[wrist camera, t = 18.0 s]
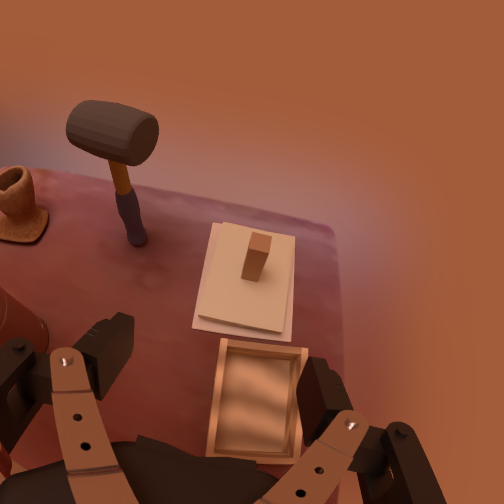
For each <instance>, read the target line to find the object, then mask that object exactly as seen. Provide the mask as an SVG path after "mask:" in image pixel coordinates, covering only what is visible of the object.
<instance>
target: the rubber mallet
mask: <svg viewBox="0 0 504 504" xmlns="http://www.w3.org/2000/svg"><path fill="white" fill-rule="evenodd" d="M66 135H67V138H68V140H69V142H70V143H71V144H73V145H74V146H76V147H78V148H81V149H82V150H84V151H86V152H89V153H91V154H93V155H95V156H98V157H100V158H104V159H107V160H108V162H109V166H110V170H111V174H112V178H113V182H114V185H115V189H116V193H115V195H116V202H117V207H118V211H119V214H120V216H121V218H122V220H123V222H124V224H125V227H126V230H127V238H128V241H129V242H130V243H131V244H133V245H141V244H143V243H144V242H145V240H146V238H147V233H146V229H145V228H144V227H143V225H142V221H141V217H140V208H139V203H138V199H137V196H136V194H135V191H134V189H133V188H132V186H131V184H130V180H129V176H128V171H127V167H126V165H129V166H137V165H140V164H142V163H143V162H144V161H145V160H146V159H147V158H148V157H149V156H150V155H151V153H152V152H153V150H154V148H155V146H156V143H157V140H158V135H159V126H158V121H157V120H156V118H155V117H154V116H153V115H151V114H149V113H146V112H144V111H141V110H138V109H135V108H132V107H129V106H126V105H122V104H119V103H113V102H105V101H94V100H88V101H84V102H82V103H80V104H78V105H77V106H76V107H75V108H74V109H73V111H72V112H71V114H70V115H69V118H68V121H67V124H66Z"/></svg>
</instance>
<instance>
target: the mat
mask: <svg viewBox="0 0 504 504" xmlns="http://www.w3.org/2000/svg"><path fill="white" fill-rule="evenodd" d="M222 225H223V224H219V223H213V225H212V230H211V234H210V239H209V243H208V248H207V253H206V258H205V262H204V267H203V272H202V277H201V282H200V287H199V292H198V298H197V303H196V308H195V314H194V319H193V325H192V329H197V330H203V331H209V332H215V333H221V334H227V335H234V336H241V337H248V338H256V339H264V340H272V341H281V342H291V332H292V313H293V289H294V258H295V237H294V236H288V235H283V234H279V235H283V236H287V237H292V238H294V241H293V251H292V260H291V269H290V277H289V286H288V294H287V302H286V310H285V317H284V325H283V332H282V333H281V334H275V333H269V332H264V331H259V330H254V329H249V328H244V327H240V326H235V325H230V324H226V323H221V322H217V321H213V320H208V319H204V318H200V317H198V313H199V309H200V305H201V301H202V297H203V294H204V290H205V286H206V282H207V279H208V275H209V271H210V267H211V264H212V260H213V257H214V253H215V249H216V246H217V242H218V239H219V235H220V232H221V228H222ZM270 233H272V232H270ZM275 234H277V233H275Z"/></svg>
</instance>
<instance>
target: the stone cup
mask: <svg viewBox="0 0 504 504" xmlns="http://www.w3.org/2000/svg"><path fill="white" fill-rule="evenodd" d="M0 210H1V211H2V212H3V213H4V215H3V216H2V217H1V218H0V239H3V240H9V241H15V242H33V241H35V240H36V239H38V238H39V236H40V235H41V233H42V232H43V230H44V228H45V226H46V224H47V220H48V212H47V211H46V210H45V209H43V208H40V207H37V206H36V205H35V193H34V186H33V180H32V176H31V174H30V172H29V171H28V169H27V168H26V167H24V166H13V167H10V168H8V169H6V170H5V171H3V172H1V173H0Z"/></svg>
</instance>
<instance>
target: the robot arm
mask: <svg viewBox="0 0 504 504" xmlns="http://www.w3.org/2000/svg"><path fill="white" fill-rule="evenodd" d="M47 344H48V330H47V327H46V324H45V323H44V321H43V320H42V319H41V318H40V317H39V316H37V315H36V314H35V313H33V312H32V311H30V310H29V309H28V308H26V307H25V306H24V305H22V304H21V303H20V302H19V301H17V300H16V299H15V298H13V297H12V296H11V295H10V294H8V293H7V292H6V291H5V290H4V289H2V288H1V287H0V504H324V503H325V502H326V500H327V499H328V497H329V496H330V495H331V493H332V492H333V490H334V489H335V487H336V486H337V484H338V483H339V481H340V480H341V478H342V477H343V475H344V473H345V472H346V470H350V471H354V472H357V476H358V481H359V485H360V490H361V494H362V499H363V504H447V503H446V501H445V499H444V496H443V494H442V491H441V489H440V486H439V484H438V482H437V479H436V477H435V475H434V473H433V470H432V468H431V466H430V463H429V461H428V459H427V457H426V455H425V452H424V450H423V448H422V446H421V444H420V442H419V440H418V438H417V436H416V434H415V431H414V430H413V429H412V428H411V427H410V426H409V425H407V424H405V423H403V422H393V423H390V424H389V425H388V427H387V428H386V429H381V428H377V427H373V426H369V422H368V420H367V419H366V418H365V417H364V416H363V415H362V414H360V413H359V412H356V411H354V410H353V407H352V405H351V402H350V399H349V397H348V395H347V392H346V389H345V387H344V386H343V382H342V380H341V377H340V376H339V375H338V374H337V373H336V372H335V371H334V370H330V369H329V367H328V364H327V361H326V359H324V358H317V357H308V359H307V361H306V363H305V366H304V368H303V370H302V373H301V375H300V378H299V380H298V383H297V387H296V397H297V403H298V409H299V414H300V420H301V426H302V432H303V438H304V444H305V446H307V447H309V448H308V450H307V451H306V452H305V453H304V454H303V455H302V457H301V458H300V459H299V460H298V461H297V462H296V463H295V464H294V465H293V466H292V468H291V469H290V470H289V471H288V472H287V473H286V474H285V475H284V476H283V477H282V478H281V479H280V480H279V479H277V478H276V477H274V476H273V475H271V474H269V473H267V472H265V471H262V470H259V469H256V461H255V460H247V459H239V458H233V457H196V456H193V455H190V454H188V453H186V452H184V451H182V450H179V449H177V448H175V447H173V446H171V445H169V444H167V443H164V442H160V441H157V440H153V439H150V438H147V437H144V436H141V435H138V437H137V440H136V442H131V441H121V442H112V443H110V442H109V439H108V436H107V434H106V431H105V428H104V425H103V422H102V419H101V416H100V413H99V410H98V407H97V403H96V400H95V399H98V400H100V401H102V399H103V398H104V396H105V395H106V393H107V392H108V390H109V388H110V387H111V385H112V384H113V382H114V381H115V379H116V378H117V376H118V375H119V373H120V372H121V370H122V368H123V367H124V365H125V364H126V362H127V361H128V359H129V358H130V356H131V354H132V351H133V344H134V317H133V316H130V315H127V314H123V313H120V312H118V313H117V314H116V315H115V316H114V317H113V318H112V319H111V320H108V319H104V320H102V321H99V322H97V323H96V324H95V325H94V326H93V327H92V328H91V329H90V330H89V331H88V332H87V334H85V335H84V336H83V337H82V338H81V339H80V340H79V341H78V342H77V343H76V344H75V345H74V346H73V347H72V348H69V347H62V348H58V349H56V350H54V351H53V352H52V353H51V355H50V354H45V353H44V352H45V350H46V348H47ZM14 385H15V387H14V388H13V389H12V390H11V388H12V387H13V386H14ZM10 390H11V392H10V393H9V391H10ZM8 393H9V394H8ZM43 403H46V404H50V405H53V408H54V415H55V421H56V426H57V431H58V436H59V441H60V446H61V450H62V454H63V458H64V460H61V461H58V462H55V463H52V464H49V465H45V466H42V467H39V468H35V469H31V470H28V471H24V472H20V473H17V474H13V475H11V476H10V471H11V468H12V461H11V458H10V456H9V454H10V453H11V451H12V450H13V448H14V446H15V445H16V443H17V442H18V440H19V439H20V437H21V435H22V434H23V432H24V431H25V429H26V428H27V426H28V425H29V423H30V422H31V420H32V419H33V418H34V416H35V415H36V413H37V412H38V410H39V409H40V407H41V406H42V405H43ZM390 469H391V470H392V473H393V477H394V480H393V478H392V474H391V471H390Z"/></svg>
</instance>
